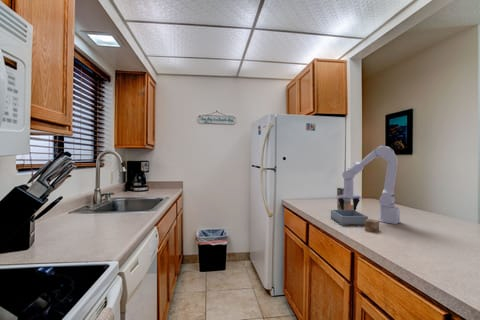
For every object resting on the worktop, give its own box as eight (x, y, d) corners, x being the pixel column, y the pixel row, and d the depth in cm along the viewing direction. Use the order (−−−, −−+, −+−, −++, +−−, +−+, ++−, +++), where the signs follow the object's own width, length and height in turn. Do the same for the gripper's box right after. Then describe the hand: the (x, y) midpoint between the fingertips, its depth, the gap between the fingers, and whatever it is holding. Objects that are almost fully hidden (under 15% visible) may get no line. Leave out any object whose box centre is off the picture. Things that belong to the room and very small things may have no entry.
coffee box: (336, 209, 176) (336, 187, 176) (345, 209, 176) (345, 187, 176) (341, 212, 167) (341, 189, 167) (351, 212, 167) (351, 189, 167)
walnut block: (379, 230, 126) (378, 220, 126) (375, 232, 122) (375, 222, 122) (368, 228, 129) (368, 219, 129) (365, 230, 126) (364, 220, 126)
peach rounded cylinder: (354, 215, 158) (354, 204, 158) (351, 217, 155) (350, 205, 155) (346, 214, 162) (346, 203, 162) (343, 215, 158) (343, 204, 158)
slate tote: (330, 217, 153) (330, 209, 153) (353, 217, 152) (353, 209, 152) (341, 225, 135) (341, 216, 135) (367, 225, 134) (367, 216, 134)
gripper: (357, 188, 162) (357, 208, 162) (334, 188, 162) (335, 208, 163) (362, 189, 155) (362, 211, 155) (338, 189, 155) (338, 211, 155)
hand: (348, 210), depth 158 cm, fingers open, 7 cm apart
